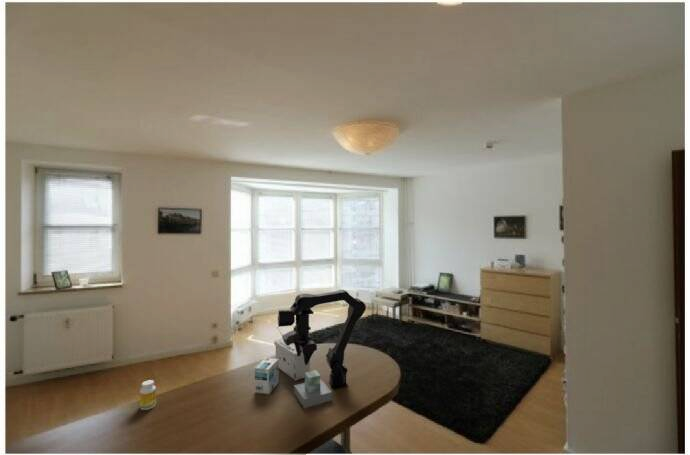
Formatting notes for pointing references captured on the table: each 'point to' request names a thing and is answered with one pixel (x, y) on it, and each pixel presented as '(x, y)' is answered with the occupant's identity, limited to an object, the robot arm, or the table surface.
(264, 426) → the table surface
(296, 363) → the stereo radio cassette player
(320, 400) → the grey square block
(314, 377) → the teal block
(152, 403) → the supplement bottle
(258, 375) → the light bulb box
